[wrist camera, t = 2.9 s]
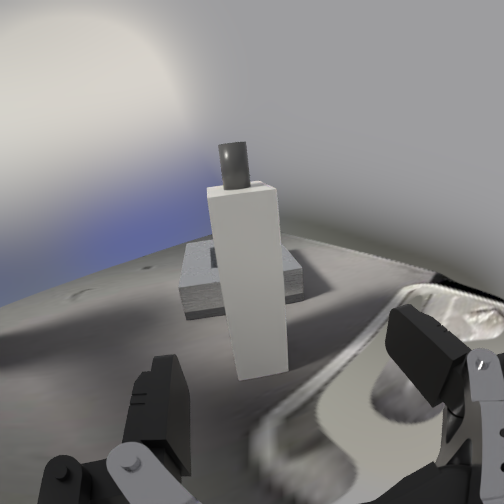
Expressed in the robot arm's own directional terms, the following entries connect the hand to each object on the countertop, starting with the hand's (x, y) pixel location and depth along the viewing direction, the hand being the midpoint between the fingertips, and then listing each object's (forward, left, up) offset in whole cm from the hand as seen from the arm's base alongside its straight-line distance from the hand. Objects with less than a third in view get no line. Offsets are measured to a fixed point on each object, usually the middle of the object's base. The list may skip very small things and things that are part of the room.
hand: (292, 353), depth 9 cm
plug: (0, +11, -10) cm, 15 cm away
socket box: (0, +26, -10) cm, 28 cm away
